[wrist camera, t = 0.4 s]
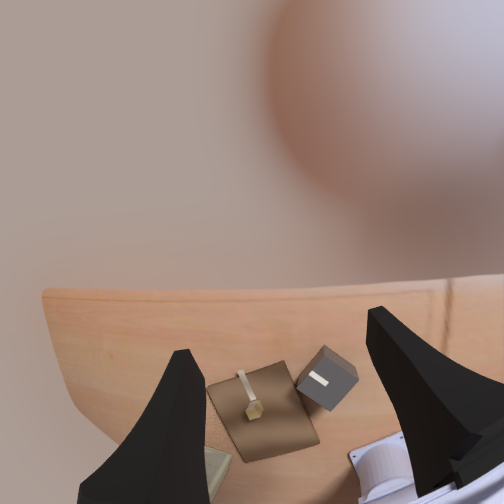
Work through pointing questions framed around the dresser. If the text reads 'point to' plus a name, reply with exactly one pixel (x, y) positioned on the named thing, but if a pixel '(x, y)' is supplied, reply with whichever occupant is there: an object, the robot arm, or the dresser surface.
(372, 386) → the dresser surface
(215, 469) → the skincare box
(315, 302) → the dresser surface
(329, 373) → the mini file drawer
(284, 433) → the board
